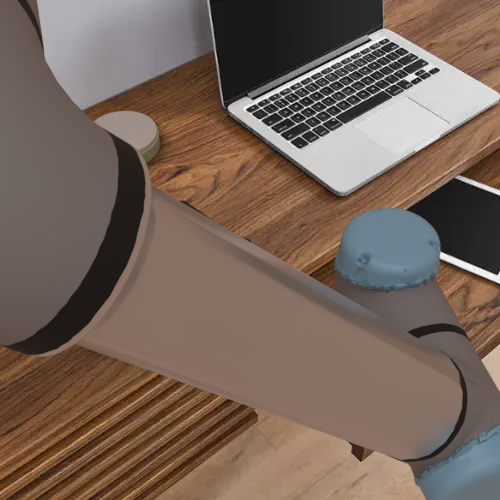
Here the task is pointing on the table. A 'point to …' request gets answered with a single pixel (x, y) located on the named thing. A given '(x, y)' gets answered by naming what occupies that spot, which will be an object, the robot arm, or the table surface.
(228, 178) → the table surface
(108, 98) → the table surface
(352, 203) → the table surface
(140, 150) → the beige and green disc
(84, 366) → the table surface
